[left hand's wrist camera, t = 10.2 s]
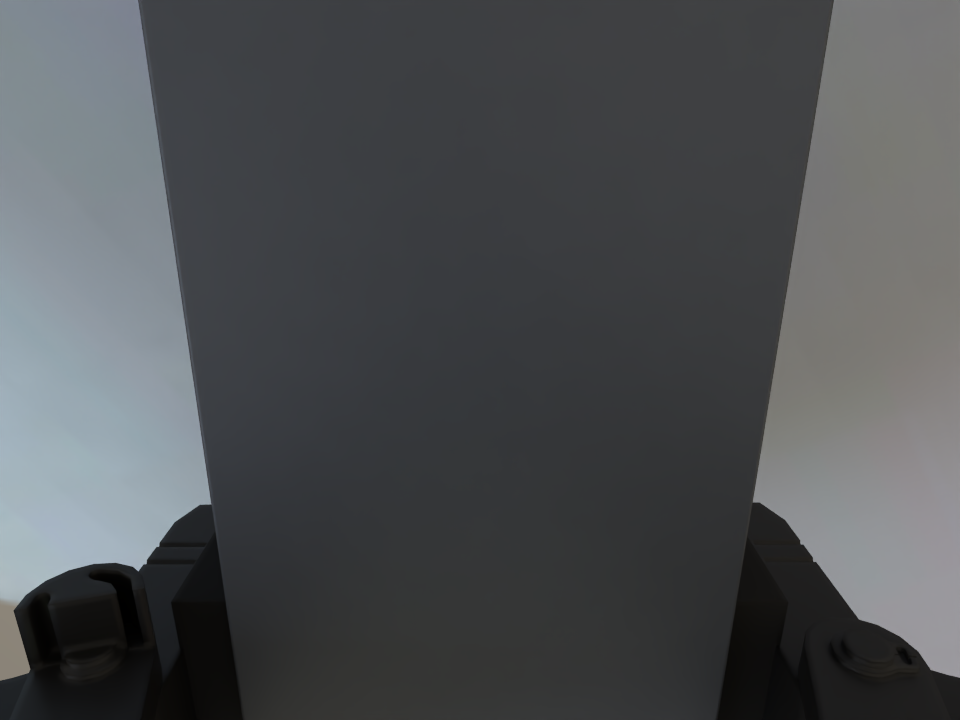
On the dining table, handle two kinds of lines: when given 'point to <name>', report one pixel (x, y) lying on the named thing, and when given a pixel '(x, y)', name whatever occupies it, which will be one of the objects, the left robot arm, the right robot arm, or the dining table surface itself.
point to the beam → (483, 337)
